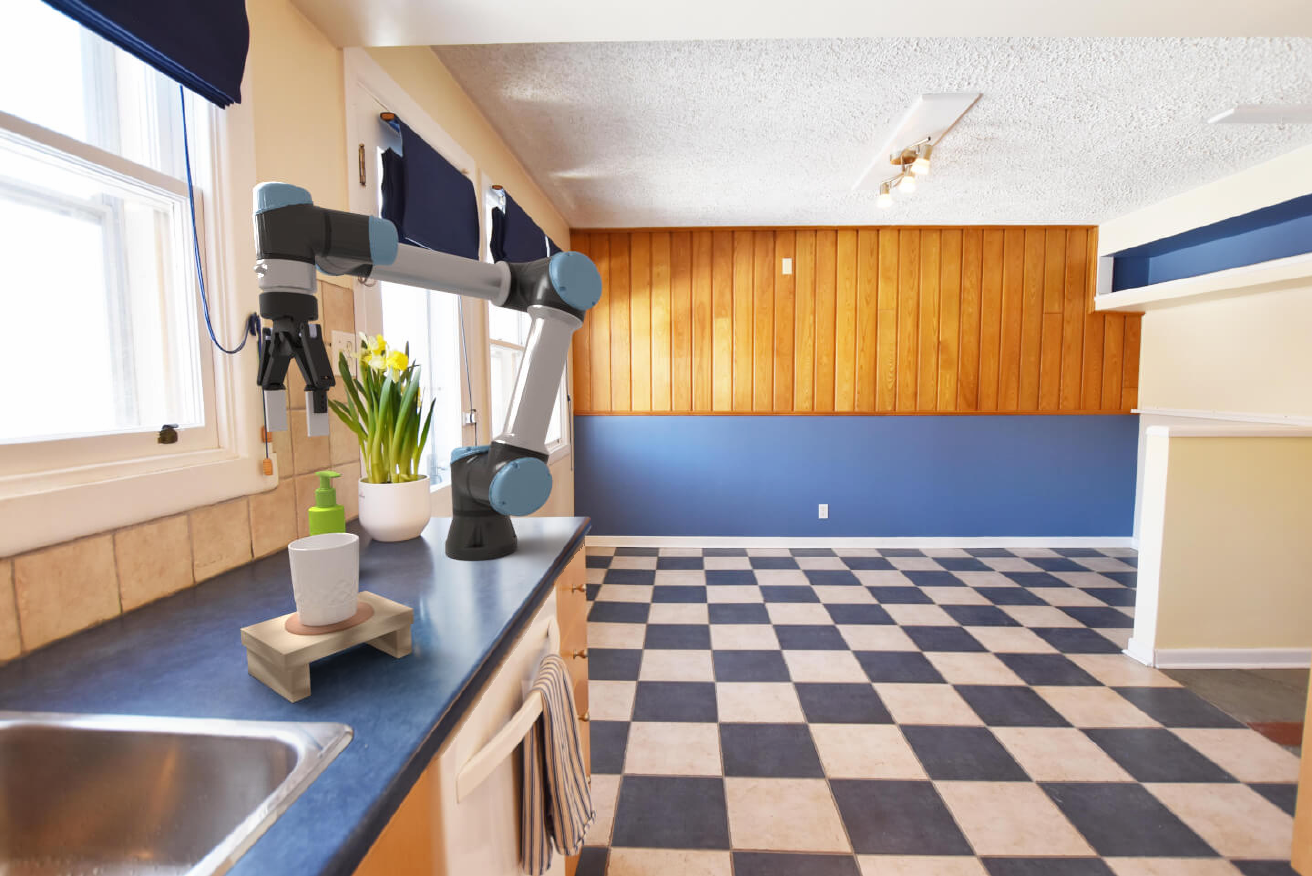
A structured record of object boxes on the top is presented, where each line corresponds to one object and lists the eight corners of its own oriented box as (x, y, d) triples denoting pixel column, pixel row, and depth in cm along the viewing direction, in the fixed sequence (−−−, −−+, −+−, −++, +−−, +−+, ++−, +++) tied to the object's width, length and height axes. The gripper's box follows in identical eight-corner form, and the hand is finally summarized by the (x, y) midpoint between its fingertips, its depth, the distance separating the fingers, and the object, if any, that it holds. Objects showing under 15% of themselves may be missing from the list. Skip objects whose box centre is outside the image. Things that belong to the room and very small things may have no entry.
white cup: (322, 603, 80) (317, 532, 79) (375, 605, 79) (371, 533, 78) (277, 627, 72) (272, 548, 71) (336, 630, 71) (331, 551, 70)
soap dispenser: (326, 583, 105) (319, 475, 103) (306, 576, 109) (299, 472, 107) (357, 574, 110) (351, 470, 108) (336, 568, 114) (331, 468, 112)
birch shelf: (367, 629, 86) (365, 588, 85) (415, 651, 79) (413, 606, 79) (243, 674, 73) (240, 625, 72) (287, 705, 66) (284, 651, 65)
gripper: (226, 297, 91) (235, 431, 93) (301, 281, 77) (310, 440, 79) (278, 302, 97) (286, 427, 100) (356, 289, 83) (364, 435, 85)
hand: (297, 433), depth 89 cm, fingers open, 13 cm apart
